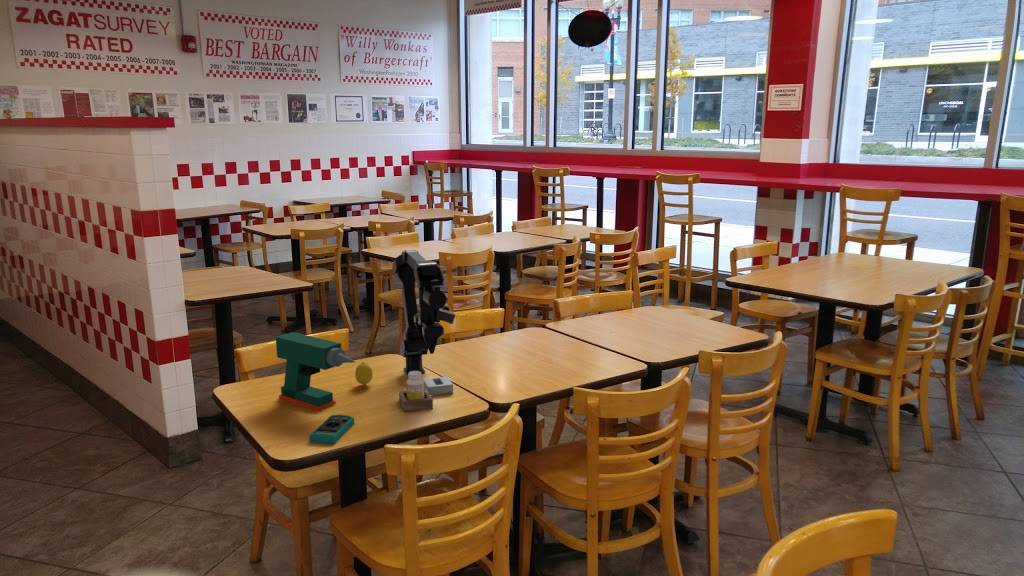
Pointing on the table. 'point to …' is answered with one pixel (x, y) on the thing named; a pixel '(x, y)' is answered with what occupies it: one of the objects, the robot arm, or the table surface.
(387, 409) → the table surface
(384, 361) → the table surface
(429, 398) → the walnut socket block
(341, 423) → the digital multimeter
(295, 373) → the power tool
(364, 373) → the lemon
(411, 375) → the supplement bottle
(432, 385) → the grey slot block
